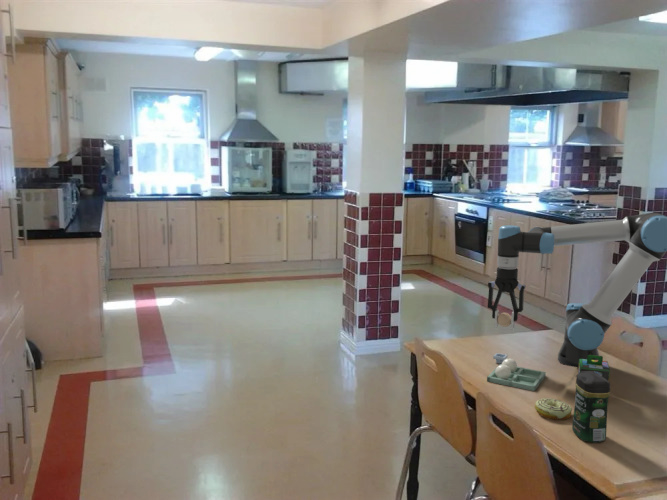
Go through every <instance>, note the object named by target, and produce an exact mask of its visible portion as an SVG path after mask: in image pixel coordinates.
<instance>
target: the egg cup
mask: <svg viewBox="0 0 667 500" xmlns="http://www.w3.org/2000/svg"><path fill="white" fill-rule="evenodd" d="M492 357H493V358H492V359H495V363H497V364H502V362H503V361H504V360H505V359H508V354H504V353H501V352H500V353H499V352H496V353H495V354H494V355H493V356H492Z"/></svg>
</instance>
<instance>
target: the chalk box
mask: <svg viewBox="0 0 667 500" xmlns="http://www.w3.org/2000/svg"><path fill="white" fill-rule="evenodd" d="M592 358H597V359H598V360H591V359H592ZM603 358H604V357H603V355H599V356H598V355H588V357H587V359H579V368H578V370H577V371H578V373H577V375H578V374H579V373H580V372H581V371H594V372H595V373H597V374H599V375H601V376H602V377H603V378H605V379H606V380H607V381H609V382H610V375H611V372H610V371H611V370H610V366H609V362H608V360H604V359H603Z"/></svg>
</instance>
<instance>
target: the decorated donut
mask: <svg viewBox="0 0 667 500" xmlns="http://www.w3.org/2000/svg"><path fill="white" fill-rule="evenodd" d="M534 404H535V405H534V409H535V411H536V413H537V414H538V415H539V416H542V417H543V418H545V419H548V420H557V421H558V420H561V421H564V420H567V419H569V418H571V416H572V411H573V408H572V407H571V405H570V404H568V403H566V402H565V401H563V400H560V399H556V398H550V397H548V398H547V397H544V398H539V399H538V400H536V402H535V403H534Z"/></svg>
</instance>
